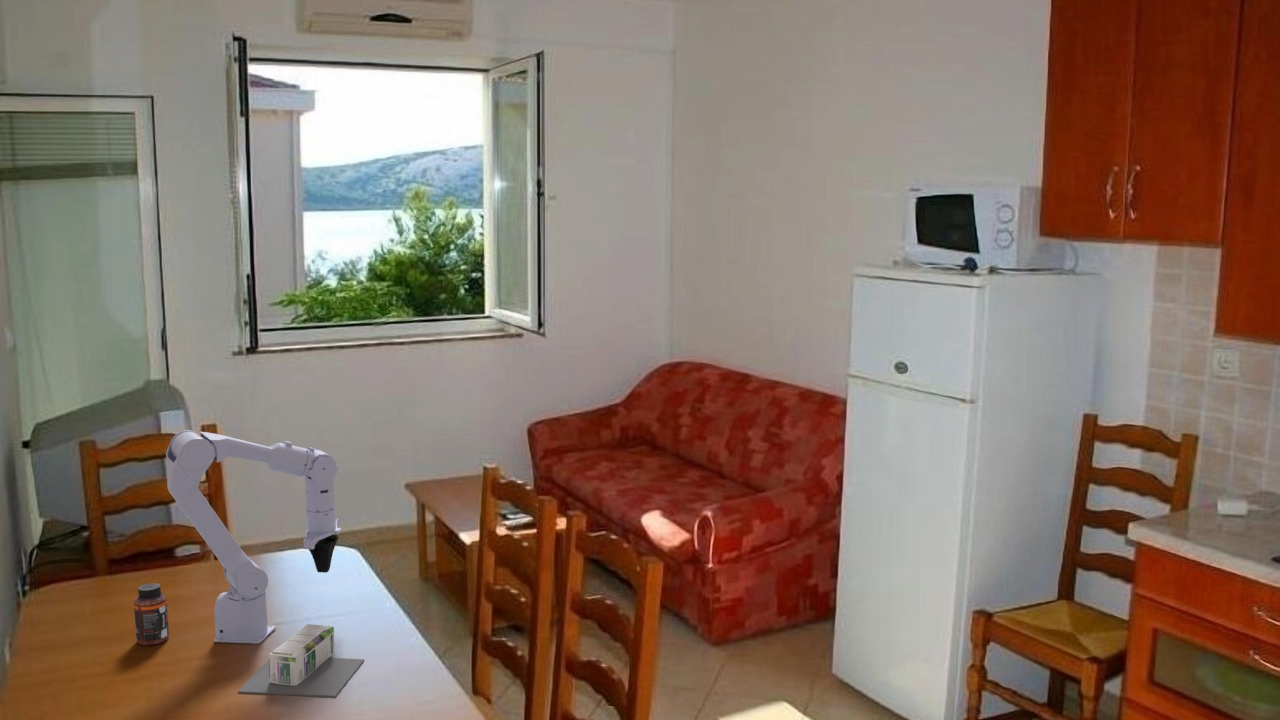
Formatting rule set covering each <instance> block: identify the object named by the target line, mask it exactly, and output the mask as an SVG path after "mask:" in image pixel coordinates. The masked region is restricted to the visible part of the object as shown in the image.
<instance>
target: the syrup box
mask: <svg viewBox="0 0 1280 720" xmlns="http://www.w3.org/2000/svg"><path fill="white" fill-rule="evenodd" d="M334 654H335V627H334V626H332V625H322V624H311V623H307V624H306V625H304V626H303V627H302V628H300V630H298V631H297V632H296V633H295V634H293V635H292V636H290V637H289V638H288V639H287V640H285V641H284V642H283V643H281V644H280V645H279V646H277V647H276V648H275V649H274V650H273V651H271V652H270V653H269V654H268V655H267V656H268V660H269V683H275V684H282V685H291V686H297V685H298V684H299V683H301V682H302V681H303V680H304V679H305V678H306V677H307V676H309V675H310V674H311V673H312V672H313V671H314V670H315V669H316V668H318V667H319V666H320V665H321V664H322V663H323V662H325V661H326V660H327V659H328V658H332V656H333V655H334Z"/></svg>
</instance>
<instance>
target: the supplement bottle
mask: <svg viewBox="0 0 1280 720" xmlns="http://www.w3.org/2000/svg"><path fill="white" fill-rule="evenodd" d="M137 592H138V596H137V597H136V598H135V599H134V601H133V608H134V610H133V611H134V621H135V622H134V624H135V634H136V643H137V644H139V645H142V646H155V645H159V644H162V643H164V642H166V641H167V640H168V639H169V638H170V637H169V636H170V629H169V627H170V626H169V614H168V613H169V612H168V601H167V600H168V599H167V596H166V595H165V594H164V593H162V589H161V584H160V583H156V582H155V583H154V582H153V583H151V582H150V583H145V584H143V585H140V586H139V587H138V590H137Z"/></svg>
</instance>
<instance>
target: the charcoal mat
mask: <svg viewBox="0 0 1280 720" xmlns="http://www.w3.org/2000/svg"><path fill="white" fill-rule="evenodd" d="M364 662H365V659H364V658H340V657H329V658H328V659H327V660H326V661H325V662H323V663H322V664H321V665H320V666H319V667H318V668H316V669H315V670H314V671H313V672H312V673H311V674H310V675H309V676H307V677H306V678H305V679H304V680H303V681H302V682H301V683H299V684H298V685H297V686H291V685H282V684H275V683H269V659H268V660H267V661H266V662H265V663H264V664H263V665H262V666H261V667H260V668H259V669H258V670H257V671H256V672H255V673H254V674H253V675H252V676H251V677H250V678H249V679H248V681H246V682H245V683H244V684H243V685H242V686H241V687H240V688H239V689H238V691H237V693H238V694H255V695H259V694H260V695H278V696H296V697H297V696H298V697H299V696H301V697H317V698H318V697H319V698H323V697H324V698H336V697H338V695H339V693H341V691H342V690H343V689H344V687H345V686H346V685H347V684H348V682H349V681H350V679H352V677H353V676H354V674H355V673H356V672H357V670H358V669H359V668H360V667H361V666H362V664H363V663H364Z"/></svg>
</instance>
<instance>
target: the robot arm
mask: <svg viewBox="0 0 1280 720" xmlns="http://www.w3.org/2000/svg"><path fill="white" fill-rule="evenodd" d="M200 433H201V434H202V435H201V434H199V433H198V432H197V431H195V430H190V429H184V430H181V431H179V432H177V433H175V435H174V436H173V437H172V438H171V440H170V443H169V445H168V447H167V450H166V452H165V456H166V462H167V464H166V465H167V466H166V467H167V468H166V469H167V471H166V472H167V473H166V477H167V482H166V483H167V484H166V486H167V487H166V488H167V490H168V493H169V494H170V495H171V496H172V498H173V499H174V501H175V502H176V503H177V504H178V506H179V507H180V509H181V510H182V512H183V513H184V514H185V516H186V517H187V518H188V519H189V521H190V523H191V524H192V526H194V528H195V529H196V531H197V533H198V534H199V535H200V536H201V538H203V540H204V542H205V543H206V544H207V546H208V547H209V549H210V550H211V551H212V553H213V554H214V555H215V557H216V558H217V559H218V562H219V563H220V564H221V565H222V569H223V574H224V578H225V580H226V581H227V583H229V584H230V586H229V588H228V589H227V590H228V591H226V592H225V591H224V592H221V593H220V594H219V595H218V596H217V598H216V600H215V604H214V610H213V611H214V627H215V629H214V630H215V638H214V642H215V643H230V644H231V643H233V644H255V645H259V644H261V643H263V641H264V640H265V639H266V638H267V637H268V636H269V635H270V634H272V632H273V631H275V629H277V628H276V625H268V608H267V606H268V605H267V592H266V591H267V588H268V584H269V577H268V574H267V573H266V571H264V569H262V568H260V567H259V565H257V563H256V562H255V560H254V559H253V558H252V557H250V556H248V555H247V554H246V553H245V552H244V551H243V550H242V548H241V546H240V545H239V544H238V542H237V541H236V539H235V538H234V536H233V535H232V534H231V532H230V531H229V530H228V528H227V527H226V526H225V524H224V522H223V521H222V520H221V519H220V517H219V516H218V515H217V513H216V511H215V510H214V509H213V507H212V506H211V505H210V503H209V502H208V500H207V499H206V497H205V495H203V493H202V491H201V490H200V489H199V485H200V483H201V480H202V476H203V475H205V473H206V471H207V470H208V469H209V467H210V466H211V465H212V464H213V461H215V463H220V462H222V461H223V460H225V459H227V458H229V457H230V458H231V457H232V458H236V459H243V460H248V461H254V462H259V463H266V465H267V466H268V468H269V470H270V471H274V472H277V473H282V474H288V475H291V476H292V475H293V476H298V477H304V479H305V488H304V489H305V507H306V508H305V509H306V510H305V512H306V528H307V529H306V530H305V537H304V539H303V540H302V542H303V550H308V551H309V553H310V554H311V556H312V559H313V562H314V565H315V569H316V571H317V573H328V572H330V568H331V565H332V564H331V563H332V558H333V553H334V550H335V547H336V544H337V542H338V541H339V534H340V533H341V532H342V527H340V519H339V518H336V500H335V499H336V497H335V481H334V479H335V478H336V475H337V473H338V471H339V466H338V465H337V462H336V460H335V459H334V458H333V457H332V456H331V455H329V454H328V453H326V451H325V452H324V451H323V450H320V449H318V448H316V447H315V448H314V447H311V446H308V447H307V448H306V447H300V446H296V445H293V443H292V442H291V441H289V440H284V441H283V443H282V442H276V443H274V444H272V445H271V446H267V445H263V444H259V443H255V442H250V441H248V440H243V439H239V438H234V437H232V436H227V435H224V434H223V435H222V434H218V433H212V432H208V431H207V432H206V431H200Z"/></svg>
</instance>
